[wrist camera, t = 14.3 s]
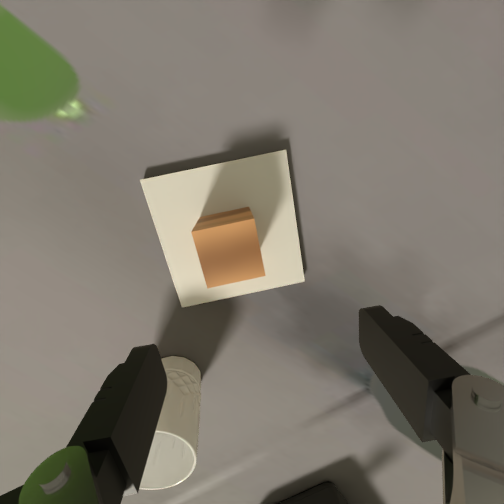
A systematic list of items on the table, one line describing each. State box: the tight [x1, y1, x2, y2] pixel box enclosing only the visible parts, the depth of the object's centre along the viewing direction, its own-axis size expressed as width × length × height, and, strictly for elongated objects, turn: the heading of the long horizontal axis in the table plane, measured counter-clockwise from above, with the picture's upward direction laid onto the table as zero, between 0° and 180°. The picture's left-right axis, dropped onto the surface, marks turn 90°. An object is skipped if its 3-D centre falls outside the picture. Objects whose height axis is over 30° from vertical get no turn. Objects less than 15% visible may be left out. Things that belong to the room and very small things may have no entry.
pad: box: [140, 150, 305, 308], centre depth 27 cm, size 14×14×1 cm
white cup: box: [139, 356, 201, 490], centre depth 28 cm, size 8×8×10 cm
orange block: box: [191, 207, 266, 288], centre depth 24 cm, size 5×5×6 cm
